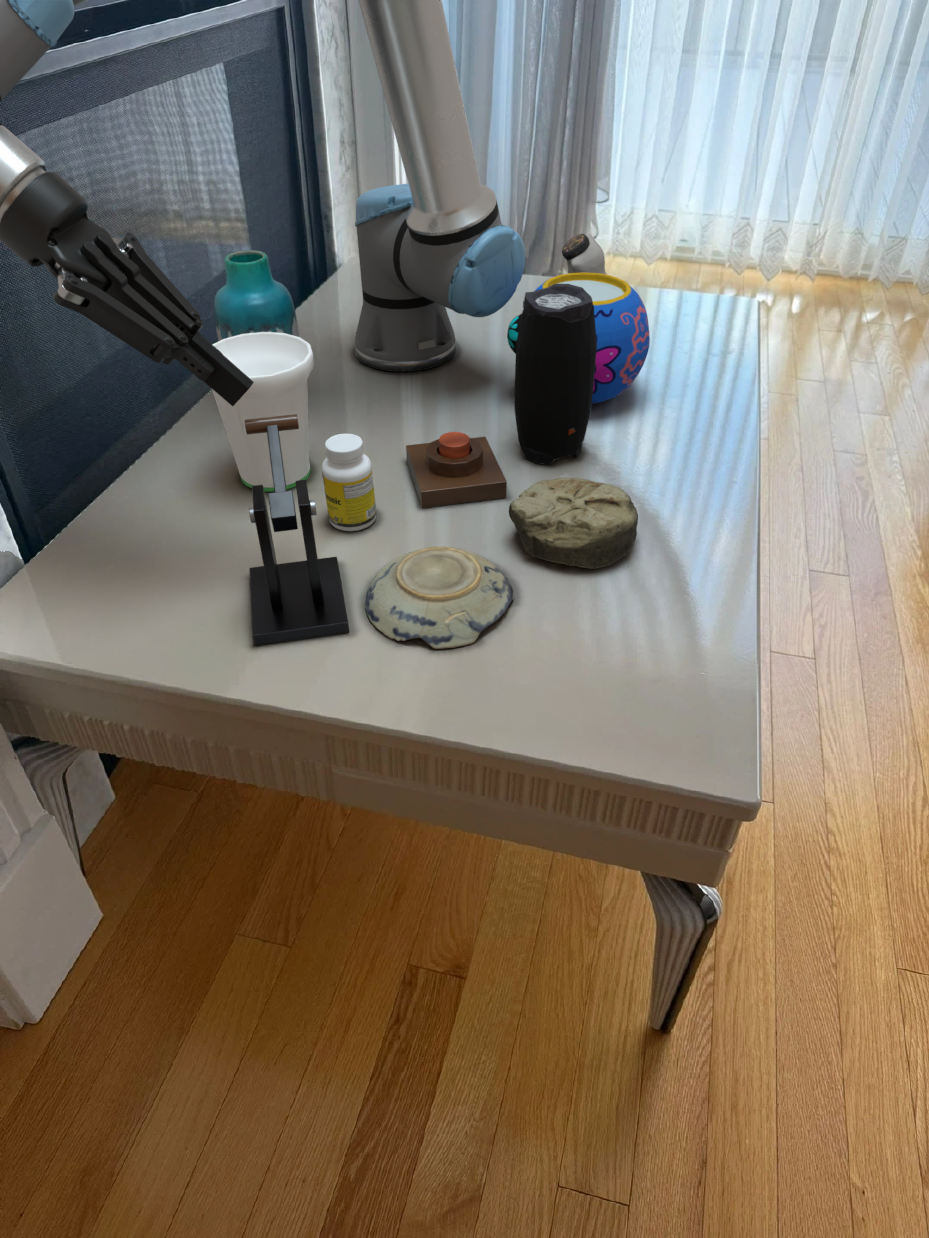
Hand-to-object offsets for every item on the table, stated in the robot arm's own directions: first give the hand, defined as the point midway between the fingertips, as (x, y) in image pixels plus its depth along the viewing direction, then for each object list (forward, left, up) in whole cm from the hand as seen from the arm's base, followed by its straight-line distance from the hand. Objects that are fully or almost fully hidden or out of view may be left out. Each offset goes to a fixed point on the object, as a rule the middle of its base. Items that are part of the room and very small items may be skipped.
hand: (243, 394), depth 85 cm
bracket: (+10, +2, -18) cm, 21 cm away
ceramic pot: (-28, +43, -18) cm, 55 cm away
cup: (-16, +1, -18) cm, 25 cm away
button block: (-10, +22, -18) cm, 30 cm away
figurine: (-47, +51, -18) cm, 72 cm away
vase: (-37, +1, -18) cm, 42 cm away
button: (-10, +22, -15) cm, 29 cm away
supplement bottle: (-4, +9, -18) cm, 21 cm away
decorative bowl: (+12, +16, -18) cm, 27 cm away
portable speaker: (-14, +35, -18) cm, 42 cm away
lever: (+5, +2, -6) cm, 8 cm away
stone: (+5, +32, -18) cm, 37 cm away
